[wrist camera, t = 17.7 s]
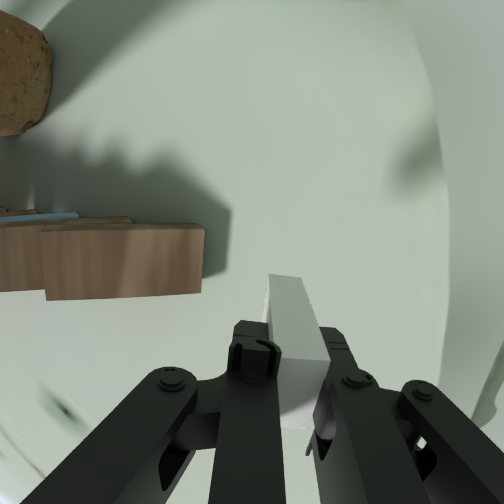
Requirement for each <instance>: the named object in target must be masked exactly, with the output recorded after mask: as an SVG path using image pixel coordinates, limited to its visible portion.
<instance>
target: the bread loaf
mask: <svg viewBox="0 0 504 504" xmlns="http://www.w3.org/2000/svg"><path fill="white" fill-rule="evenodd" d="M51 66H52V52H51V49H50V47H49V46H48V43H47V41H46V39H45V36H44V34H43V32H41V31H40V30H39V29H37V28H36V27H34V26H33V25H31V24H29V23H27V22H25V21H23V20H22V19H20V18H17V17H15V16H13V15H10V14H8V13H6V12H4V11H1V10H0V136H10V135H17V134H22V133H24V132H25V131H26V130H27V129H29V128H30V126H32V125H33V124H34V123H36V122H37V121H38V120H39V119H40V118H41V117H42V115H43V112H44V109H45V107H46V104H47V101H48V97H49V93H50V89H51V70H50V68H51Z"/></svg>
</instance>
